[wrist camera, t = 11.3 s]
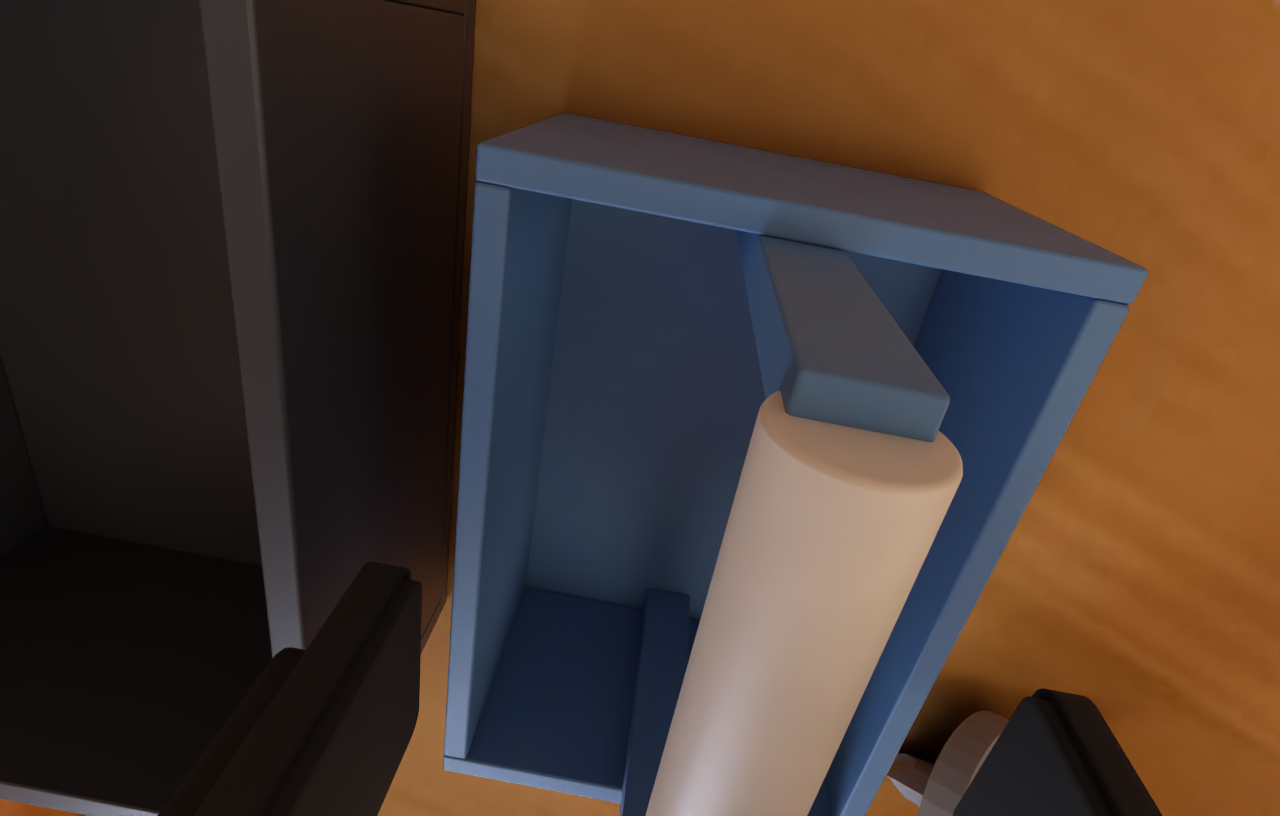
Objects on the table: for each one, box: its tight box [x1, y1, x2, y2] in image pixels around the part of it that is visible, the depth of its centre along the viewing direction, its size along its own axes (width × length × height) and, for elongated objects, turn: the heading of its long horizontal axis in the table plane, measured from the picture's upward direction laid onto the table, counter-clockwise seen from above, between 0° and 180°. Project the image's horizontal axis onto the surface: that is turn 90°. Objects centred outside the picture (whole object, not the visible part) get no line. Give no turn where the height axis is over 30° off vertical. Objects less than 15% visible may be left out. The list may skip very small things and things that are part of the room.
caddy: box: [443, 113, 1148, 816], centre depth 12 cm, size 13×9×11 cm
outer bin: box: [0, 0, 476, 816], centre depth 14 cm, size 16×12×8 cm
